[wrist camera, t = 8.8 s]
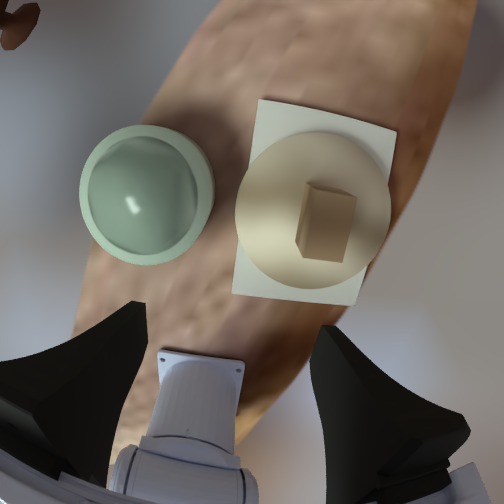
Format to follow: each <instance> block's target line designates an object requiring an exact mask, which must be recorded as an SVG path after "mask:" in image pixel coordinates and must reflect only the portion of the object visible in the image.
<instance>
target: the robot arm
mask: <svg viewBox="0 0 504 504" xmlns="http://www.w3.org/2000/svg"><path fill="white" fill-rule="evenodd" d="M147 344H148V333H147V320H146V303H142V302H136V301H131V302H129V303H127V304H126V305H124V306H123V307H122V308H120V309H119V310H117V311H116V312H114V313H113V314H112V315H110V316H109V317H107V318H106V319H104V320H103V321H101V322H100V323H98V324H97V325H95V326H93V327H92V328H90V329H88V330H87V331H85V332H84V333H82V334H80V335H78V336H77V337H75V338H73V339H71V340H69V341H67V342H65V343H63V344H60V345H58V346H56V347H53V348H50V349H48V350H45V351H42V352H40V353H37V354H33V355H30V356H27V357H22V358H18V359H13V360H8V361H1V362H0V501H1V502H3V503H4V504H258V502H259V493H258V485H257V482H256V479H255V477H254V476H253V475H252V474H251V472H250V471H249V470H248V469H246V468H240V457H239V456H235V455H234V446H235V417H236V412H237V407H238V402H239V396H240V391H241V386H242V380H243V375H244V370H245V363H244V362H243V361H239V360H230V359H222V358H214V357H206V356H199V355H192V354H186V353H180V352H174V351H168V350H159V351H158V354H157V357H158V370H159V381H160V390H159V393H158V396H157V399H156V403H155V406H154V409H153V413H152V416H151V420H150V423H149V427H148V430H147V434H146V436H142V438H141V441H140V445H139V448H138V446H136V445H132V444H130V445H129V446H128V447H126V448H123V449H122V450H121V451H120V453H119V455H118V457H117V459H116V462H115V465H114V468H113V472H112V476H111V481H110V488H109V490H108V489H106V483H107V475H108V468H109V461H110V456H111V451H112V445H113V441H114V437H115V432H116V428H117V424H118V421H119V417H120V414H121V410H122V407H123V405H124V402H125V400H126V397H127V395H128V393H129V390H130V388H131V386H132V384H133V381H134V379H135V377H136V375H137V372H138V370H139V368H140V366H141V363H142V361H143V358H144V354H145V351H146V348H147ZM162 358H164V359H162ZM309 362H310V373H311V380H312V386H313V390H314V394H315V398H316V402H317V406H318V410H319V414H320V418H321V423H322V428H323V435H324V444H325V455H326V456H325V457H326V485H327V489H326V491H327V492H326V504H491V500H490V498H489V496H488V493H487V491H486V488H485V486H484V483H483V481H482V479H481V477H480V474H479V472H478V470H477V468H476V465H475V463H474V462H471V463H469V464H467V465H465V466H462V467H460V468H458V469H456V470H454V471H452V472H451V473H448V471H447V469H446V468H448V467H449V466H450V462H449V460H448V458H449V457H450V456H451V455H452V454H453V453H454V452H456V451H457V450H458V449H459V448H460V447H461V446H462V445H463V444H464V443H465V441H466V440H467V439H468V437H469V435H470V432H471V430H470V428H469V426H468V424H467V422H466V420H465V418H464V416H463V415H462V414H460V413H457V412H454V411H451V410H448V409H446V408H443V407H440V406H438V405H436V404H434V403H432V402H429V401H427V400H425V399H424V398H421V397H420V396H418V395H416V394H415V393H413V392H411V391H410V390H408V389H406V388H405V387H403V386H402V385H400V384H399V383H398V382H396V381H395V380H393V379H392V378H391V377H389V376H388V375H387V374H386V373H384V372H383V371H382V370H381V369H380V368H378V367H377V366H376V365H375V364H374V363H373V362H372V361H371V360H370V359H369V358H367V357H366V356H365V355H364V354H363V353H362V352H361V351H360V350H359V349H358V348H357V347H356V346H355V345H354V344H353V343H352V342H351V340H350V339H349V338H348V337H347V336H346V335H345V334H344V333H343V332H342V331H341V330H339V328H338V327H336V326H331V325H322V326H321V329H320V332H319V335H318V338H317V341H316V344H315V347H314V349H313V352H312V355H311V358H310V361H309ZM237 369H241V370H237Z"/></svg>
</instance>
